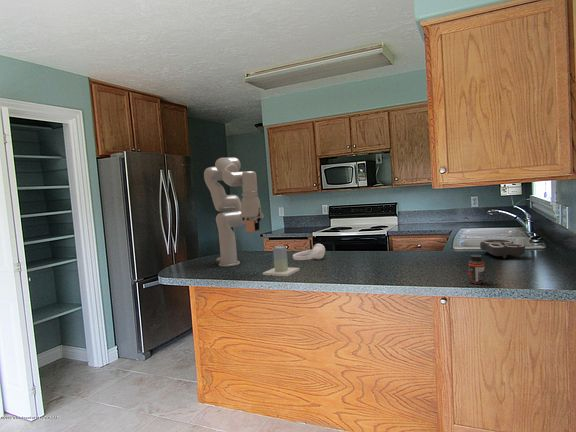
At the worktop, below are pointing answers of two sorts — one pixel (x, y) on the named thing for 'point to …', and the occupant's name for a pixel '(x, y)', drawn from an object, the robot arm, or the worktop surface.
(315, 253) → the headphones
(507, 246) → the motorcycle dashboard
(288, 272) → the plate
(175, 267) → the worktop surface
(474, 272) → the supplement bottle
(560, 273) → the worktop surface
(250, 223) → the brick top
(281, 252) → the brick mid
